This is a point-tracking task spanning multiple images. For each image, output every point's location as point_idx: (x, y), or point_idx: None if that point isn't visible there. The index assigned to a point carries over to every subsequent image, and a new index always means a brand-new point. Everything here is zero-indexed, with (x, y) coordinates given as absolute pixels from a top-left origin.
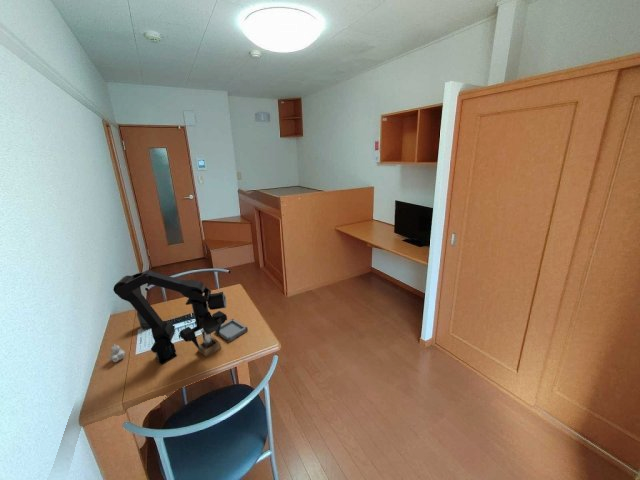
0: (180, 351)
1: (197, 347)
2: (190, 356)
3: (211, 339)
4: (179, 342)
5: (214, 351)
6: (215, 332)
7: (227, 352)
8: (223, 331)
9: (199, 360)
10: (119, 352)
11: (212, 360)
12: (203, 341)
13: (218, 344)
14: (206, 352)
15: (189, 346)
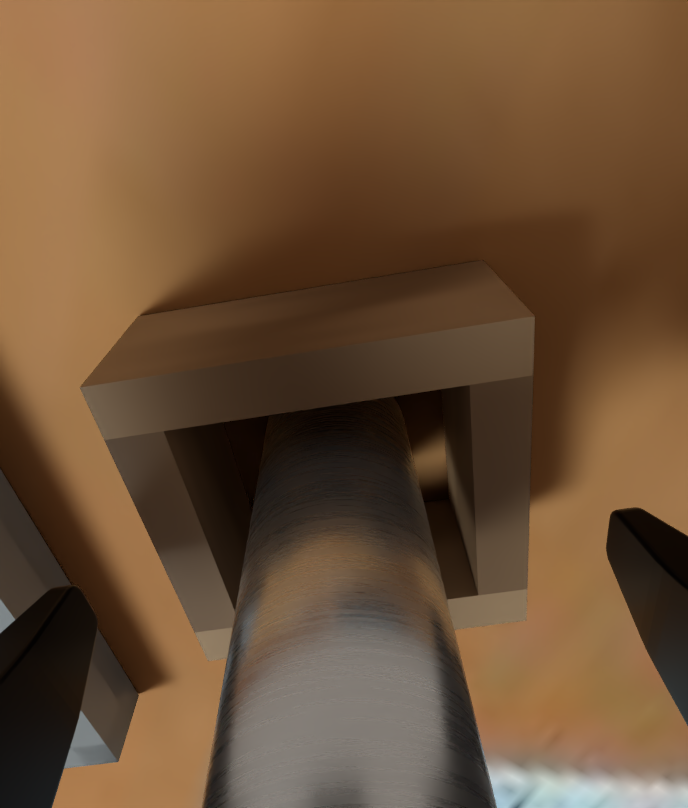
0: None
1: (666, 523)
2: (643, 476)
3: (248, 572)
4: (564, 756)
5: (289, 297)
6: (71, 727)
7: (24, 37)
8: None
9: (618, 270)
10: None
11: (436, 30)
12: None
13: (141, 364)
14: (484, 303)
15: (527, 654)
